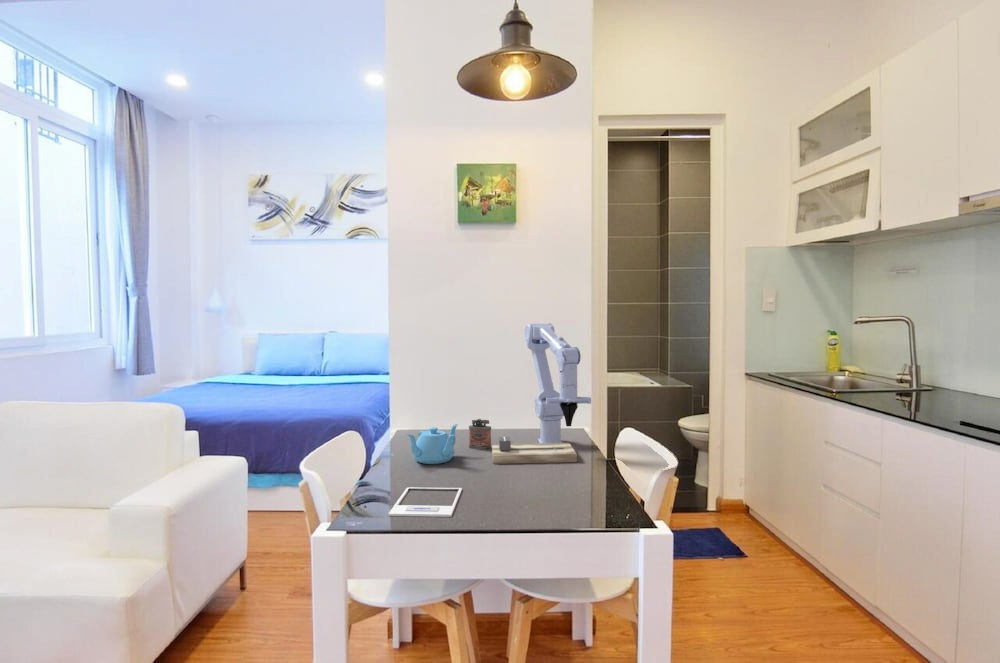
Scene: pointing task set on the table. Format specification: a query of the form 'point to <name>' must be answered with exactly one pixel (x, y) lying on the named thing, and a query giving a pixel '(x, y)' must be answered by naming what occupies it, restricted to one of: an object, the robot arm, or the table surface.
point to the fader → (504, 443)
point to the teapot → (433, 446)
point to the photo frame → (424, 510)
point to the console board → (534, 453)
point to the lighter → (480, 435)
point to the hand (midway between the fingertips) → (568, 425)
